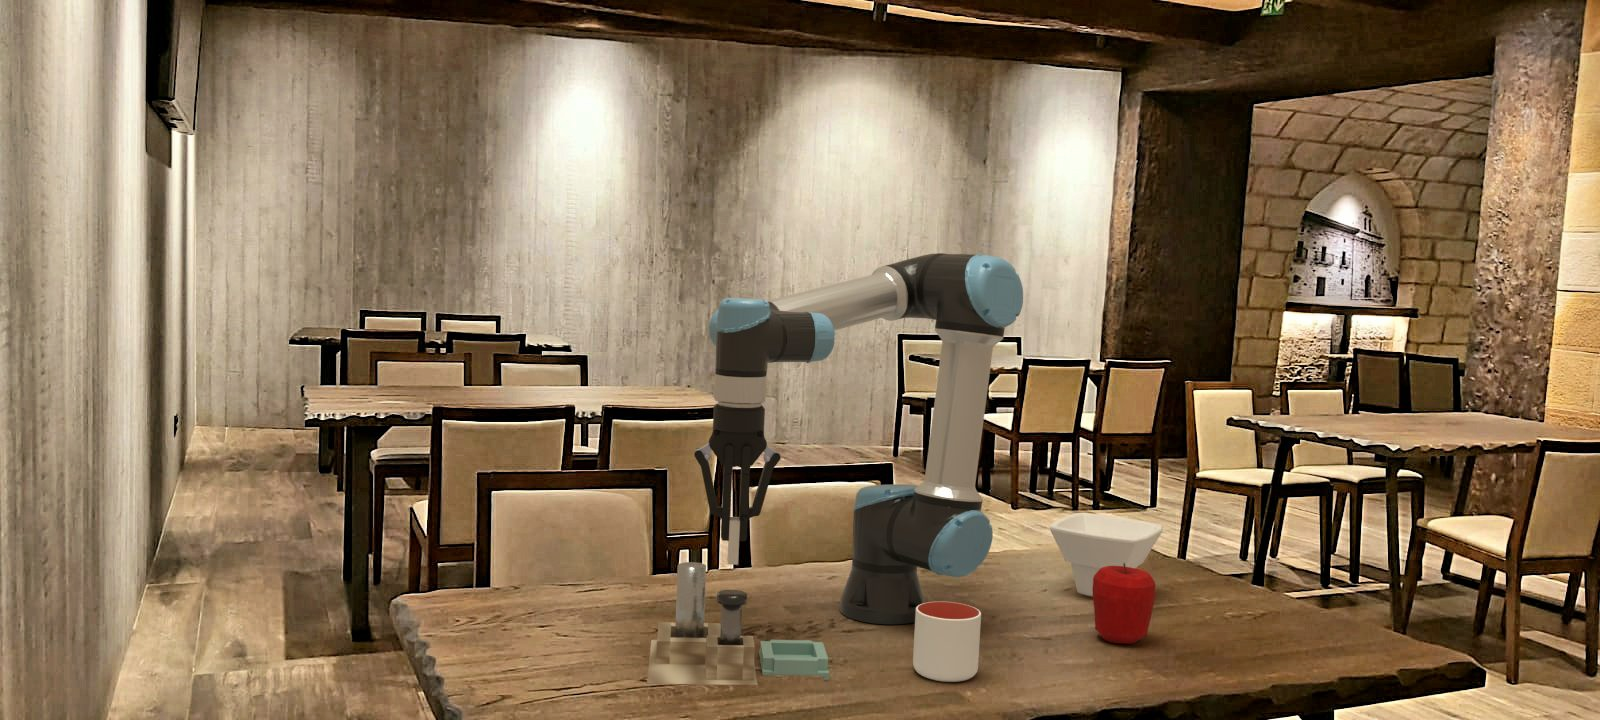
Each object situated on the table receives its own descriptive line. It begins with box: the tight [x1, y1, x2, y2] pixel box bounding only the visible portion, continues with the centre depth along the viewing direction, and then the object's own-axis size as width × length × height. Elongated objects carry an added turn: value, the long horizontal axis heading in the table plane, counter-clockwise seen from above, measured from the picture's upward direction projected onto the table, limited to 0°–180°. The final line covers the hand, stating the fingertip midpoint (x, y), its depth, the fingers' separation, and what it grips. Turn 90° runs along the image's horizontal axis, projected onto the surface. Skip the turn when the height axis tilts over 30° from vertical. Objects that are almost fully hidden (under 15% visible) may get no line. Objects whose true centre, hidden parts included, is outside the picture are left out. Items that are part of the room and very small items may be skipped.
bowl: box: [1049, 512, 1164, 597], centre depth 247 cm, size 19×19×14 cm
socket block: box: [646, 621, 758, 686], centre depth 196 cm, size 16×20×6 cm
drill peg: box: [675, 561, 707, 638], centre depth 199 cm, size 4×4×14 cm
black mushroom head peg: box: [716, 589, 748, 645], centre depth 190 cm, size 4×4×9 cm
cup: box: [912, 601, 982, 683], centre depth 198 cm, size 10×10×10 cm
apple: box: [1092, 563, 1156, 644], centre depth 218 cm, size 10×10×14 cm
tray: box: [758, 639, 830, 681], centre depth 197 cm, size 10×10×3 cm
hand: (732, 562), depth 189 cm, fingers closed
